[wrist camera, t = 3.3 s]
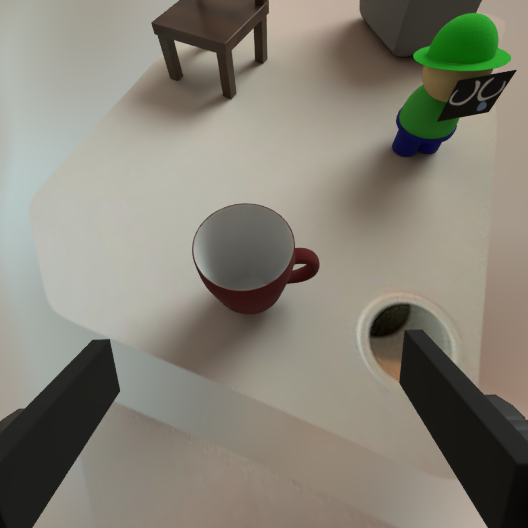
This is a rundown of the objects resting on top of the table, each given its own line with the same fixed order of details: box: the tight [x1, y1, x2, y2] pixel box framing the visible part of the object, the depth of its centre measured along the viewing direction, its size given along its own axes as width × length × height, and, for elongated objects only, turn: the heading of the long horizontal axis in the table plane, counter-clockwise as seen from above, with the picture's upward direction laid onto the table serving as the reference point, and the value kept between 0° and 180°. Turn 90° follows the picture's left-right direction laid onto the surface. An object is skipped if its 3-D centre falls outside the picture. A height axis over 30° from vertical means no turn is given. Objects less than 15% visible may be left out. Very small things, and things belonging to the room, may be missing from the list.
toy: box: [392, 13, 516, 157], centre depth 36 cm, size 9×9×15 cm
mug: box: [192, 204, 319, 314], centre depth 30 cm, size 10×8×10 cm
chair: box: [152, 0, 269, 99], centre depth 46 cm, size 12×12×15 cm
